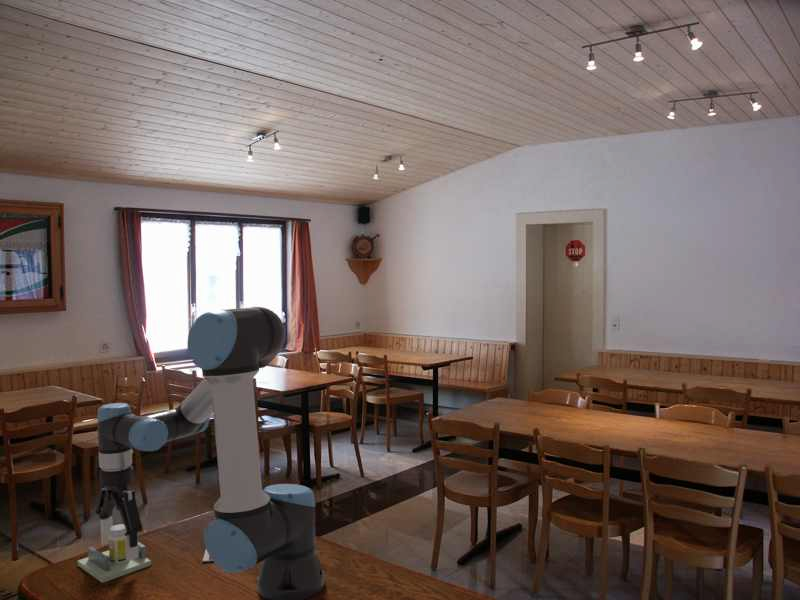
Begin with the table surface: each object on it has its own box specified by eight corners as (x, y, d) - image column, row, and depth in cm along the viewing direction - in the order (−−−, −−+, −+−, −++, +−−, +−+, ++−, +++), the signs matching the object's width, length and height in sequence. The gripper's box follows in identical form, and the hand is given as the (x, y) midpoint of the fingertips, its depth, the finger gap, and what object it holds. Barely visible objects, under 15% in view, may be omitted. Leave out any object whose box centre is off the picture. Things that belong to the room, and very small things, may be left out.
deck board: (150, 565, 164) (150, 560, 164) (102, 582, 155) (102, 577, 155) (125, 549, 173) (124, 545, 173) (77, 565, 165) (77, 560, 165)
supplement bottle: (133, 555, 167) (132, 523, 166) (126, 564, 162) (124, 530, 162) (114, 556, 167) (112, 523, 166) (106, 564, 162) (105, 531, 161)
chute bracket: (145, 557, 166) (145, 545, 166) (105, 571, 158) (105, 559, 158) (127, 546, 172) (127, 535, 172) (88, 559, 165) (87, 547, 165)
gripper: (155, 473, 157) (158, 560, 159) (109, 454, 174) (112, 533, 175) (124, 481, 152) (128, 571, 153) (79, 460, 169) (83, 542, 170)
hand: (119, 551), depth 164 cm, fingers open, 13 cm apart
